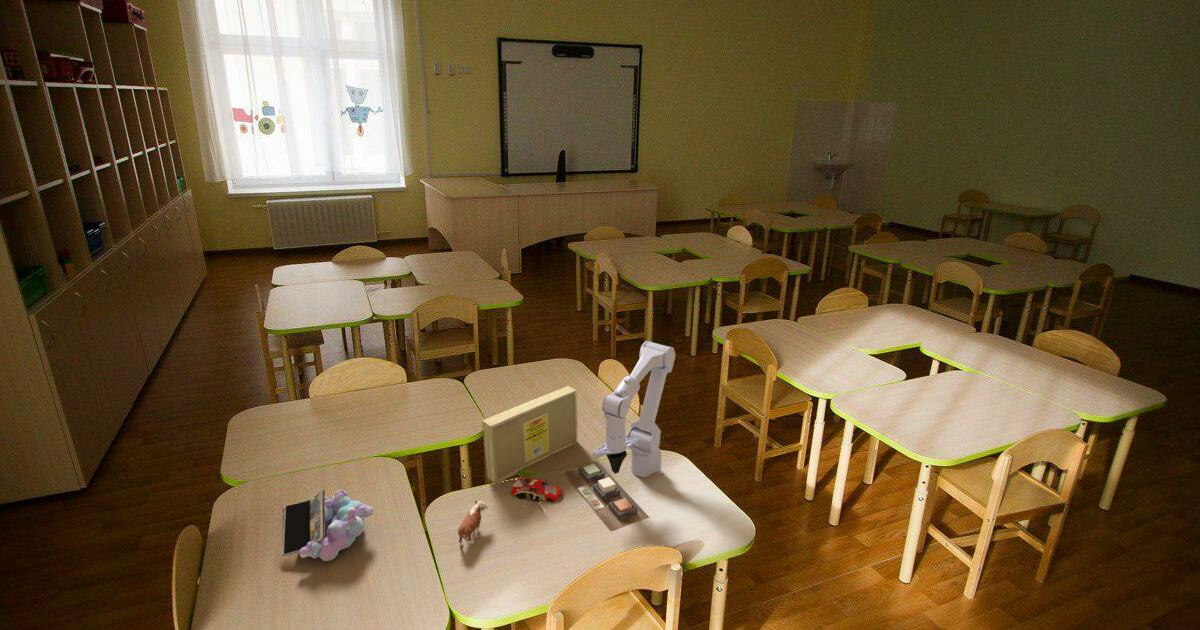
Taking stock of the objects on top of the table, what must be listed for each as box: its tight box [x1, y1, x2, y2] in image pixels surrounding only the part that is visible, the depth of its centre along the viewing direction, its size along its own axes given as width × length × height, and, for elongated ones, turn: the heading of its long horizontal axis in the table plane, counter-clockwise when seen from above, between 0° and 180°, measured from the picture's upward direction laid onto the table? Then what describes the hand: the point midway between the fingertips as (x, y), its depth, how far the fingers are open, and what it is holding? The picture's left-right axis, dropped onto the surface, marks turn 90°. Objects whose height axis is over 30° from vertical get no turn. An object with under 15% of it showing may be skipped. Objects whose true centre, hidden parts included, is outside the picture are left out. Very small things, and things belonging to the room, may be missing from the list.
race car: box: [510, 477, 564, 503], centre depth 196 cm, size 16×7×5 cm, turn 74°
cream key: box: [598, 477, 615, 494], centre depth 196 cm, size 4×4×2 cm
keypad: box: [562, 461, 650, 532], centre depth 196 cm, size 13×32×3 cm, turn 28°
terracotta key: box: [614, 498, 632, 513], centre depth 188 cm, size 4×4×2 cm
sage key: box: [583, 463, 600, 477], centre depth 204 cm, size 4×4×2 cm
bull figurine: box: [457, 500, 489, 547], centre depth 179 cm, size 4×13×8 cm, turn 161°
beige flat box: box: [482, 385, 579, 485], centre depth 210 cm, size 35×5×22 cm, turn 132°
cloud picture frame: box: [280, 487, 374, 562], centre depth 174 cm, size 20×22×18 cm
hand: (615, 471), depth 192 cm, fingers closed
